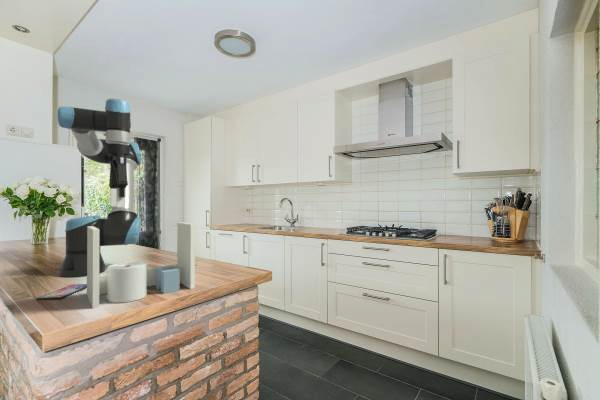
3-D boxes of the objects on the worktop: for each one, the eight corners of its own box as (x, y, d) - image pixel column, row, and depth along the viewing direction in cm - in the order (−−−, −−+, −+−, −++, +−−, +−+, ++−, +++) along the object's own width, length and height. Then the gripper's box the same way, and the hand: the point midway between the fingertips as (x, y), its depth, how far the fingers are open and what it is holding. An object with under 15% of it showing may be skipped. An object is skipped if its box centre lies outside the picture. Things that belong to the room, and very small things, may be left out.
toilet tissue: (106, 305, 85) (106, 270, 85) (107, 294, 96) (107, 263, 96) (148, 299, 91) (148, 266, 91) (144, 289, 101) (144, 259, 101)
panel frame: (86, 295, 94) (86, 226, 94) (180, 279, 113) (180, 221, 113) (92, 308, 83) (93, 229, 83) (194, 288, 102) (195, 224, 102)
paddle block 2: (160, 291, 98) (161, 270, 98) (176, 288, 102) (176, 268, 102) (163, 294, 96) (163, 272, 96) (179, 291, 99) (179, 270, 99)
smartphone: (35, 298, 90) (71, 284, 105) (35, 301, 90) (71, 287, 105) (61, 297, 90) (93, 283, 105) (61, 300, 90) (93, 286, 105)
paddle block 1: (156, 288, 103) (156, 267, 103) (171, 285, 106) (171, 265, 106) (158, 290, 100) (158, 269, 100) (173, 287, 104) (174, 267, 104)
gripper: (100, 147, 111) (99, 206, 112) (111, 138, 94) (111, 207, 94) (123, 149, 116) (122, 205, 116) (138, 141, 99) (137, 207, 99)
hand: (117, 206), depth 105 cm, fingers open, 11 cm apart
